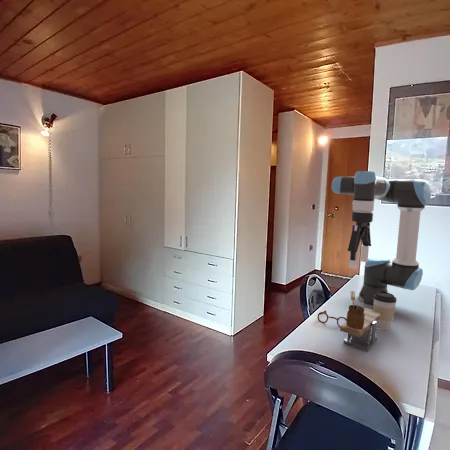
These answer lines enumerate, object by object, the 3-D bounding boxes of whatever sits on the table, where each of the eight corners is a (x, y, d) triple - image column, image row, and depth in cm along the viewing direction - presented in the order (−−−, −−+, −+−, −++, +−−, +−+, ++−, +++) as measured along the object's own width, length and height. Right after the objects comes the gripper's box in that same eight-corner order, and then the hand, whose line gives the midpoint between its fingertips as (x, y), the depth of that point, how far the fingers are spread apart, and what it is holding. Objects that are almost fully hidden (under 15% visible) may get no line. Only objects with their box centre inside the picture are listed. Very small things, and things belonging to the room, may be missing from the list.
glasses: (316, 322, 146) (317, 311, 145) (325, 313, 157) (326, 303, 156) (347, 330, 139) (348, 319, 138) (354, 320, 150) (355, 310, 149)
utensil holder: (352, 329, 116) (355, 296, 114) (342, 322, 122) (345, 291, 120) (367, 328, 117) (370, 296, 116) (356, 321, 123) (359, 290, 122)
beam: (364, 311, 139) (365, 307, 139) (382, 315, 135) (382, 312, 135) (339, 330, 118) (340, 326, 118) (359, 336, 114) (360, 332, 113)
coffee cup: (396, 332, 138) (400, 298, 136) (373, 329, 139) (376, 295, 138) (390, 323, 146) (393, 291, 145) (368, 321, 148) (371, 289, 146)
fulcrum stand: (353, 333, 135) (355, 311, 134) (377, 341, 129) (380, 318, 128) (342, 343, 126) (344, 319, 125) (368, 352, 120) (370, 327, 119)
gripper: (362, 208, 139) (358, 257, 142) (341, 213, 120) (337, 269, 123) (381, 210, 134) (377, 260, 137) (362, 214, 115) (358, 273, 118)
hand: (358, 264), depth 130 cm, fingers open, 13 cm apart
